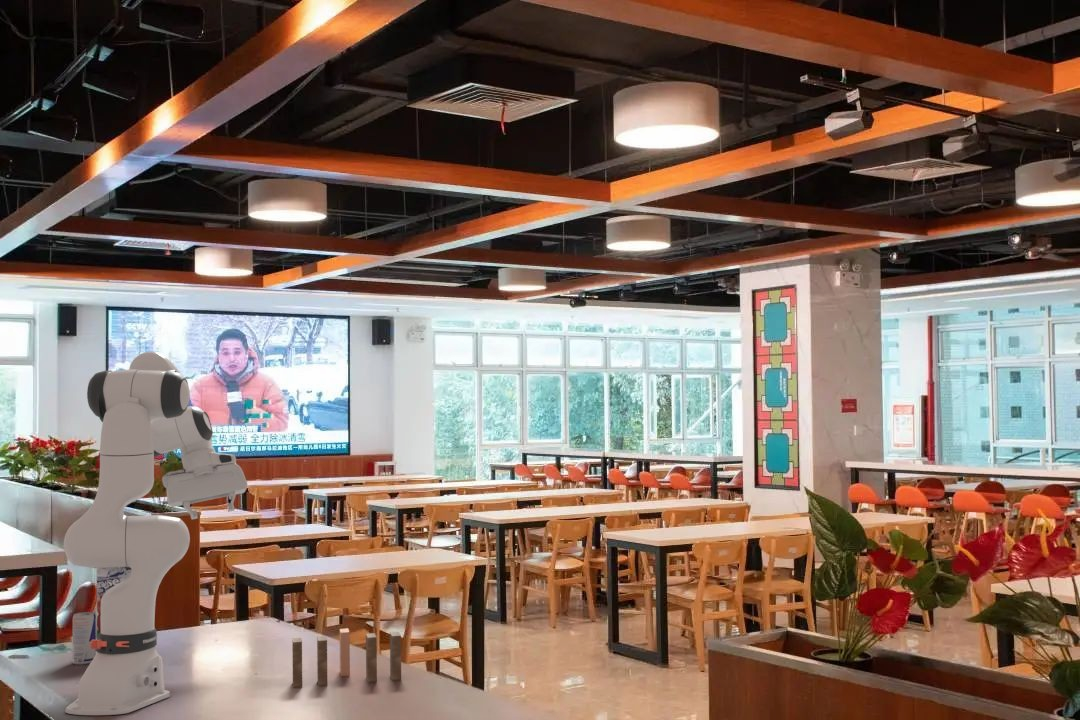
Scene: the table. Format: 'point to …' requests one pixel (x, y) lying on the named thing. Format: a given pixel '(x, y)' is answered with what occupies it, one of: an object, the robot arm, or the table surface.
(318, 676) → the domino
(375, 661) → the domino
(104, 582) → the juice carton
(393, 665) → the domino
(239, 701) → the table surface
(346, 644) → the domino
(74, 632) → the energy drink
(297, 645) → the domino
